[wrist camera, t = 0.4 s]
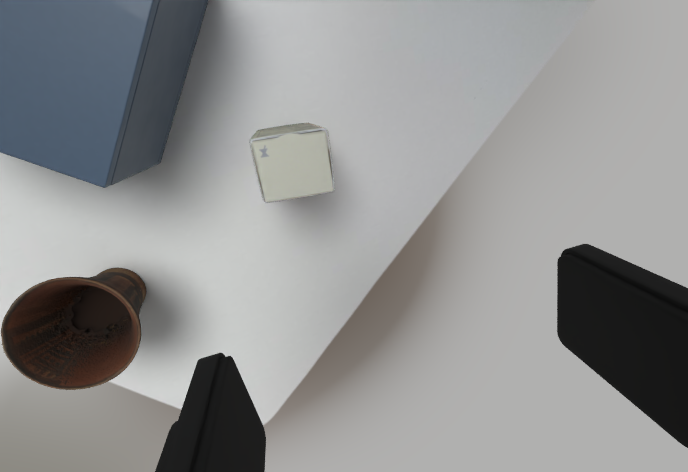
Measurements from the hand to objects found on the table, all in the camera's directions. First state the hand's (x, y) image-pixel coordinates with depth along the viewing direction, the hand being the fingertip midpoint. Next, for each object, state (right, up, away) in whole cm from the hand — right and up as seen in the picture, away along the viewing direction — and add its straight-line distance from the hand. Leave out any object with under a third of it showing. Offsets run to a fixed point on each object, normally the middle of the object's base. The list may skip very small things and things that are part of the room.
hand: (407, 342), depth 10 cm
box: (-7, +11, +23) cm, 27 cm away
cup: (-23, -1, +25) cm, 34 cm away
